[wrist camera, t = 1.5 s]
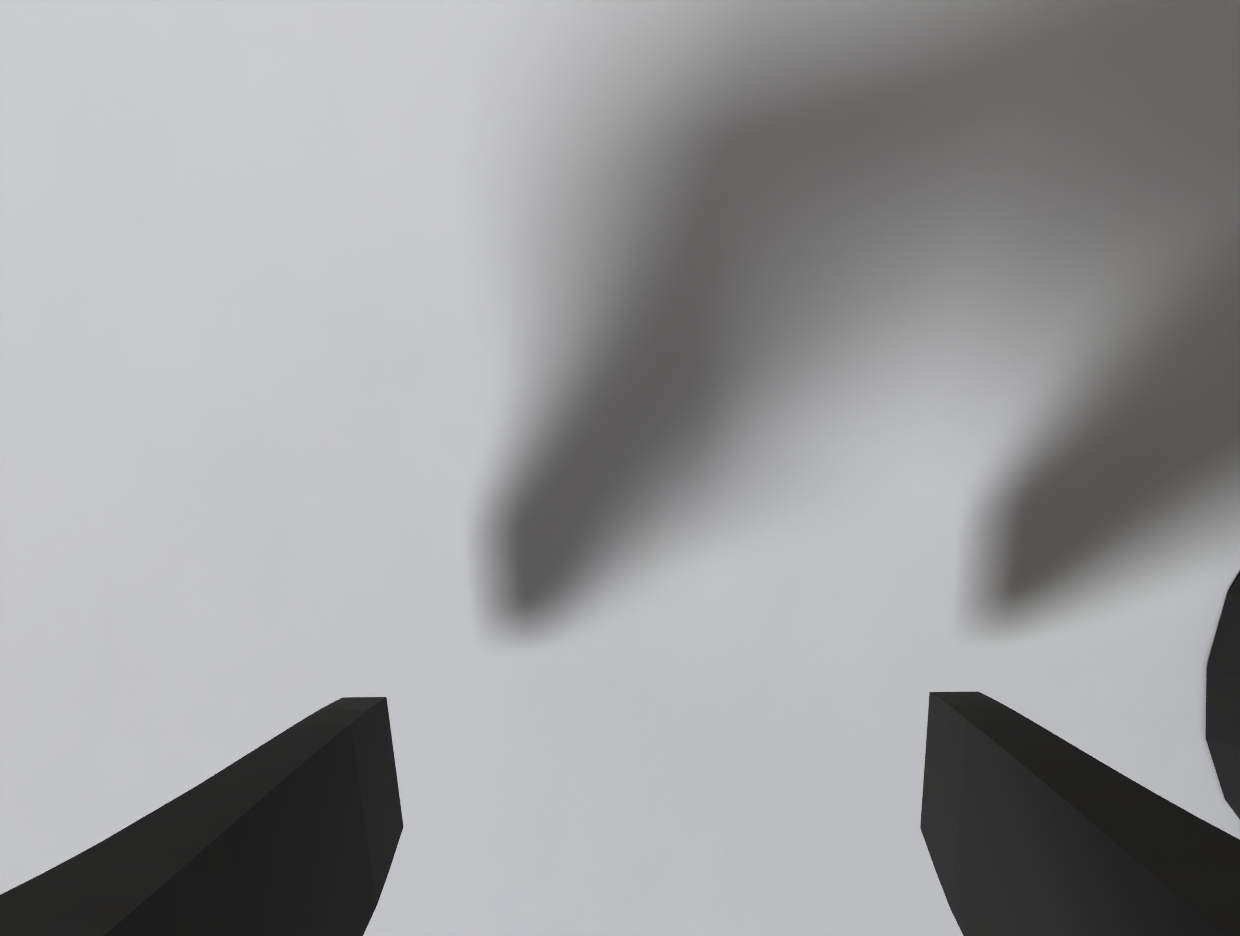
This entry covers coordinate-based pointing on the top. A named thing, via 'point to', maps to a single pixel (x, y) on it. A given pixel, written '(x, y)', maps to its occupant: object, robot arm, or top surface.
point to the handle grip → (1226, 699)
